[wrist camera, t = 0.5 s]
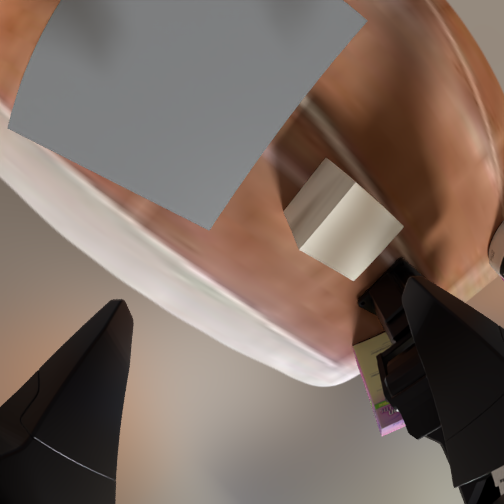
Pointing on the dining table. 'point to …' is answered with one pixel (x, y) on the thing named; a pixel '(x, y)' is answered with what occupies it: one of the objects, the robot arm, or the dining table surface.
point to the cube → (340, 221)
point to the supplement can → (497, 251)
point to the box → (377, 382)
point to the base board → (176, 89)
